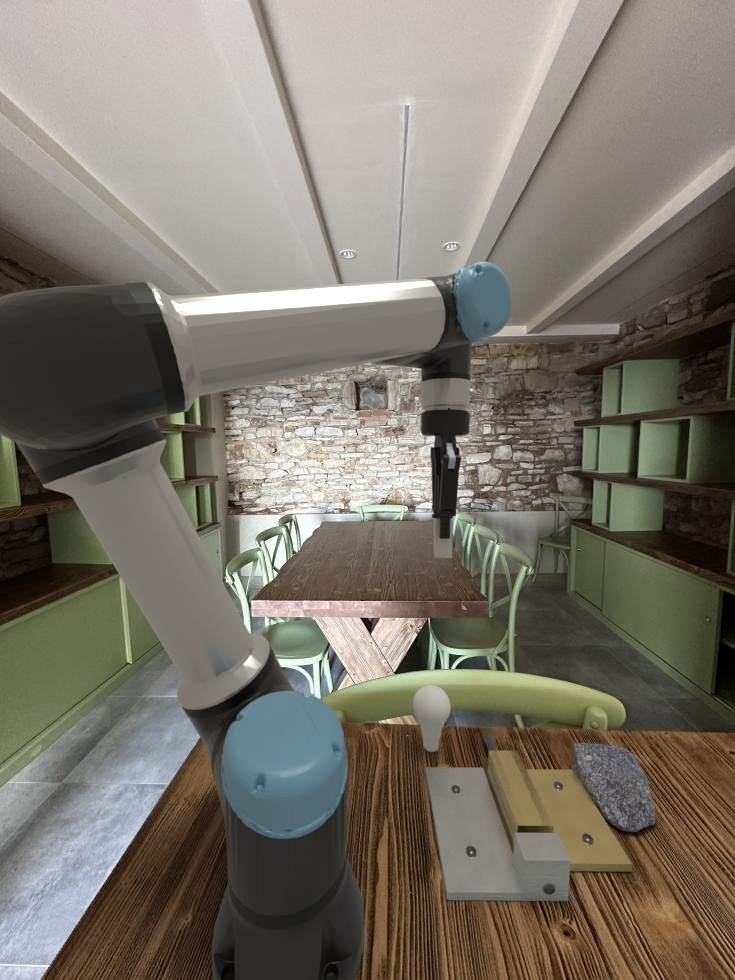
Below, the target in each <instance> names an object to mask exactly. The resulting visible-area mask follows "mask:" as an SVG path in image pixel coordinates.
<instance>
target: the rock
mask: <svg viewBox="0 0 735 980" xmlns="http://www.w3.org/2000/svg"><path fill="white" fill-rule="evenodd" d="M572 755H573V758H574V764H572V767H571V768H572V769H571V770H574V772H575V774H576V775H577V777H578V778H579V780H580V781H581V783H582V785H583V786H584V788H585V789H586V791H587V793H588V794H589V796H590V797H591V799H592V801H593V802H594V804H595V805H596V807H597V808H598V810H599V812H600V813H601V815H602V817H603V818H604V820H605V821H606V822H608V823H610V824H611V825H613V826H614V827H616V828H617V829H618V830H621V831H624V832H628V833H629V832H631V833H635V832H638V831H640V830H642V829H644V828H648V827H649V826H653V825H655V824H656V823H657V817H656V816H657V815H656V807H655V802H654V800H653V797H652V796H653V795H652V794H651V791H650V784H649V780H648V777H647V775H645V773H644V771H643V770H642V767H641V763H640V761H639V758H638V756H636V755H635V754H633V753H632V752H631V751H629V750H628V749H627V748H624V747H622V746H621V747H620V746H616V745H613V744H602V743H601V744H600V743H589V742H580V743H574V744H573V754H572Z"/></svg>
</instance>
